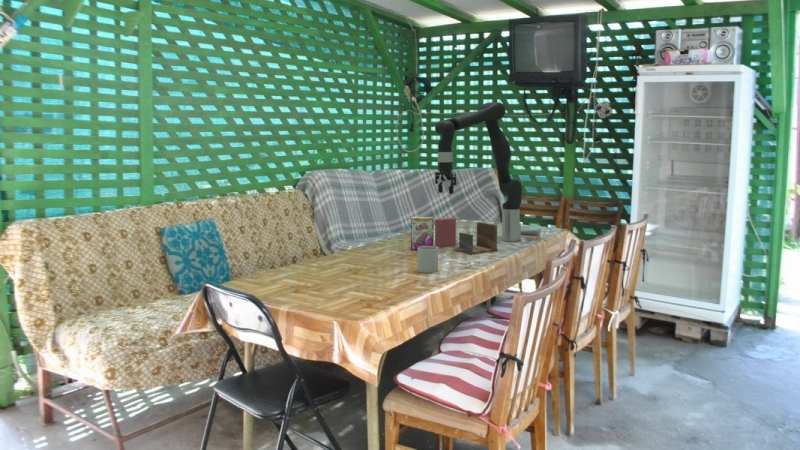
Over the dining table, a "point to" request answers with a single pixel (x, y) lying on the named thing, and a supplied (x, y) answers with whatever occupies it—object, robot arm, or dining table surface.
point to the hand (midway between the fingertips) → (445, 193)
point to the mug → (427, 259)
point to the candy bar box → (422, 232)
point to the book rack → (479, 240)
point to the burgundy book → (445, 232)
